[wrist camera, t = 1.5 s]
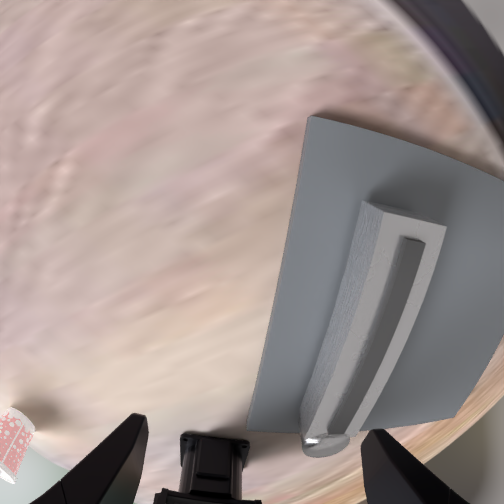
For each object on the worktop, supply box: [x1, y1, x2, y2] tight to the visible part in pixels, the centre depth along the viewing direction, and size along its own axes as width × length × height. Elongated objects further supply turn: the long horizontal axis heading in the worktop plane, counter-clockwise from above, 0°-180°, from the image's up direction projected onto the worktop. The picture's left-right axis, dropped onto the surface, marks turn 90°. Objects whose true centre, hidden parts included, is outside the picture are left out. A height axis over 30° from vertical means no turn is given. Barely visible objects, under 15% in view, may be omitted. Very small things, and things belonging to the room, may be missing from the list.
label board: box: [247, 116, 504, 433], centre depth 20 cm, size 24×23×1 cm
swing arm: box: [298, 200, 447, 458], centre depth 18 cm, size 19×4×3 cm, turn 171°
